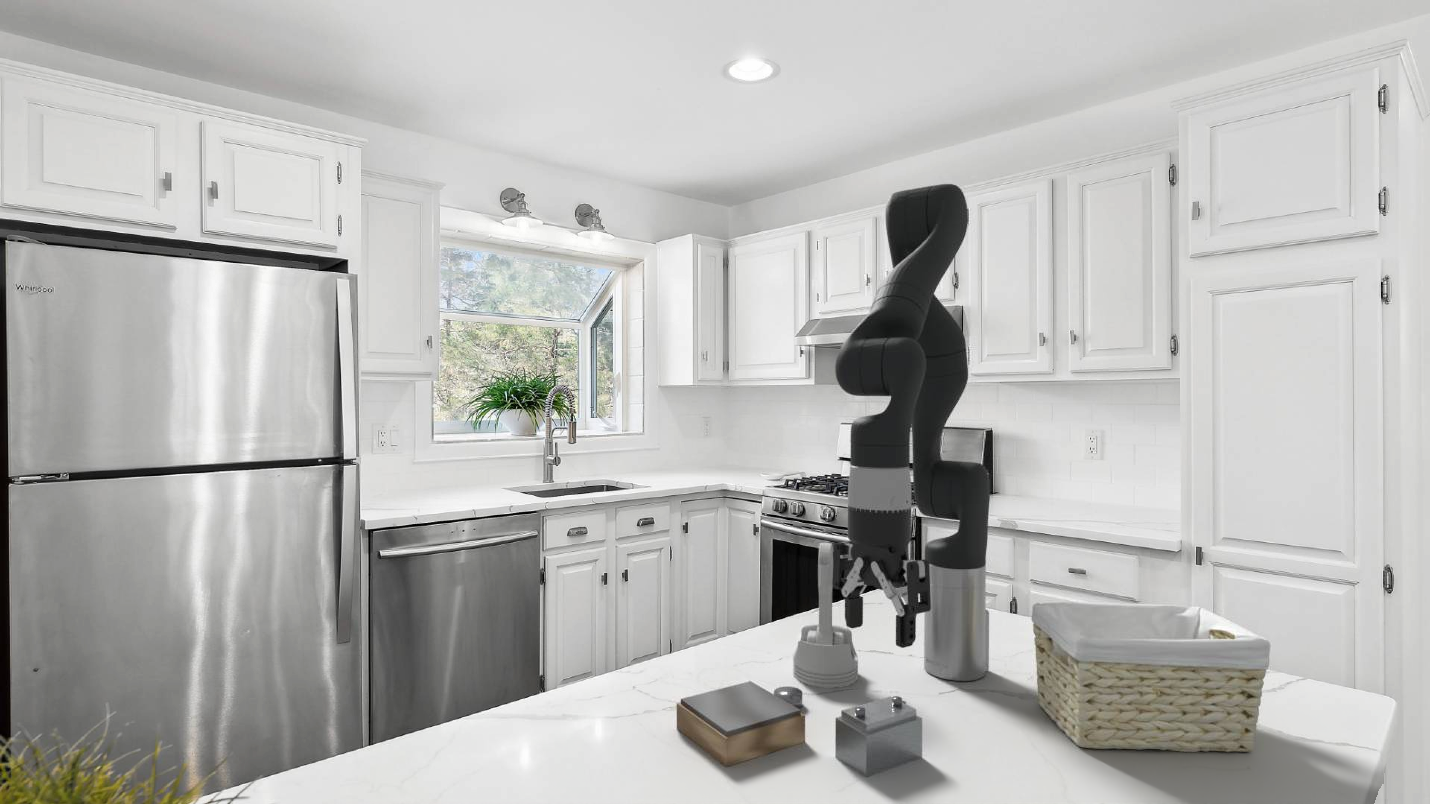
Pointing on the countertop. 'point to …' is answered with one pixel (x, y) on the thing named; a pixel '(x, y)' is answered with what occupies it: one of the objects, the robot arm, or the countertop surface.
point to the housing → (878, 736)
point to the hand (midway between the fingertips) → (878, 636)
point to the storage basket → (1149, 676)
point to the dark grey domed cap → (790, 695)
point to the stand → (740, 722)
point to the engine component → (825, 639)
